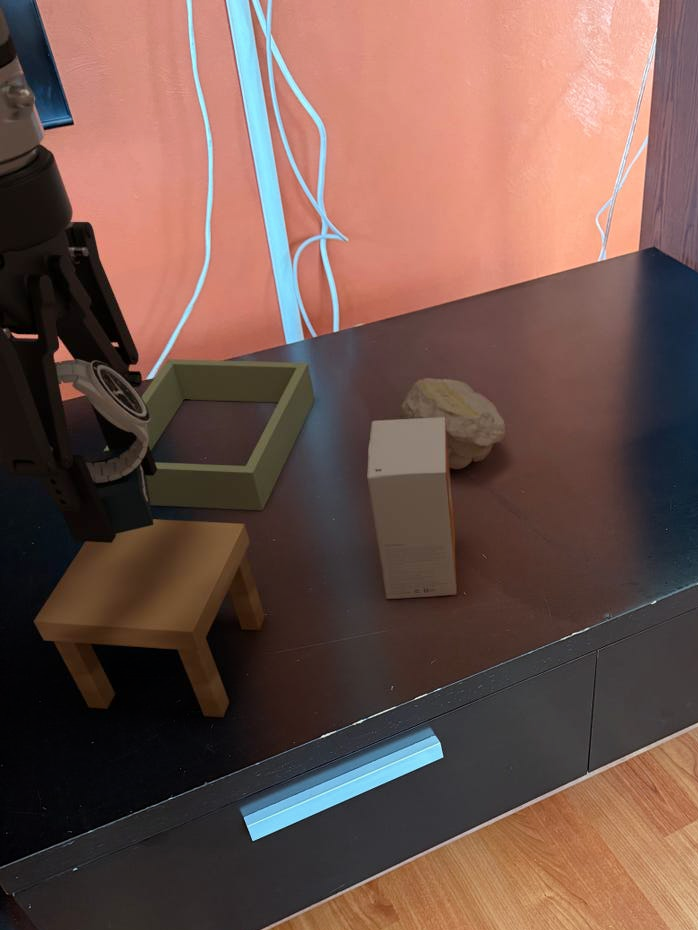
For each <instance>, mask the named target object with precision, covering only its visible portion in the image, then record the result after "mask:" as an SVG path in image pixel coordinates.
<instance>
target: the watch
mask: <svg viewBox="0 0 698 930" xmlns="http://www.w3.org/2000/svg"><path fill="white" fill-rule="evenodd" d="M55 366H56V371H57V376H58V381H59V385H61V384H70V383H72V385H71V386H72V387H73V389H75V390H76V391H78V392H80V393H81V394H83V395H84V396H85V397H86V398H87V400H88V402H89V403H90V405H91V404H92V405H93V406H94V407H95V409H96V410H97V411H98V412H99V413H100V414H101V415H102V416H103V417H105V418H106V419H107V420H108V421H109V422H111V423H112V424H114V425H115V426H117V427H118V428H120V429H123V430H125V431H127V432H133V433H134V434H135V435H136V436H137V441H135V442H134V443H133V445H130V446H125V447H120V448H116V449H111V450H107V451H104V450H103V451H99V452H94V453H89V454H84V455H83V457H84V460H85V462H86V465H87V467H88V469H89V472H90V474H91V477H92V479H93V481H94V484H95V486H96V488H97V491H98V493H99V496H100V498H101V500H102V503H103V505H104V508H105V510H106V512H107V515H108V517H109V520H110V522H111V524H112V527H113V529H114V532H115V534H117V533H122V532H126V531H130V530H134V529H138V528H143V527H147V526H151V525H154V524H153V519H154V518H153V517H154V516H153V511H152V505H151V504H150V497H149V490H148V483H147V479H146V476H145V474H144V471H143V468H142V466H141V461H142V459H143V458H144V456H145V454H146V451H147V447H148V443H149V436H148V430H147V423H148V422H149V421H150V413H149V410H148V408H147V406H146V404H145V402H144V401H143V399H142V398H141V397H142V395H140V393H139V392H138V391H137V389H135V387H132V385H131V384H130V383H129V382H128V381H127V380H126V379H125V378H124V377H123V376H121V375H120V374H119V373H118V372H117V371H115V370H114V369H113V368H111V367H110V366H108V365H106V364H105V363H103V362H100V361H96V360H95V361H92V362H91V363H89V362H86V361H83V360H79V359H75V360H74V359H68V360H62V361H55ZM92 405H91V406H92ZM50 447H51V446H50ZM51 448H52V447H51Z"/></svg>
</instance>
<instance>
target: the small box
mask: <svg viewBox="0 0 698 930" xmlns="http://www.w3.org/2000/svg"><path fill="white" fill-rule="evenodd" d="M369 434H370V435H369V441H368V442H369V443H368V448H367V449H368V451H367V453H368V454H367V473H366V479H367V480H366V481H367V485H368V493H369V499H370V505H371V511H372V517H373V518H372V519H373V523H374V524H373V525H374V530H375V536H376V541H377V548H378V554H379V560H380V567H381V573H382V575H381V576H382V580H383V581H382V582H383V589H384V595H385V598H386V599H388V600H392V599H393V600H394V599H410V598H411V599H412V598H426V597H440V596H441V597H442V596H456V595H457V594H458V587H457V571H456V532H455V522H454V521H455V519H454V507H453V499H452V498H453V497H452V484H451V483H452V482H451V473H450V472H451V471H450V468H449V457H448V445H447V428H446V418H445V417H439V418H419V419H402V418H400V419H384V420H383V419H380V420H372V422H371V426H370V433H369Z"/></svg>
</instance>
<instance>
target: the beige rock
mask: <svg viewBox="0 0 698 930" xmlns="http://www.w3.org/2000/svg"><path fill="white" fill-rule="evenodd" d="M400 407H401V408H400V419H419V418H439V417H445V418H446V428H447V445H448V457H449V469H452V470H462V469H464V468H466V467H468V465H469V464H470V463H472V461H473V462H475V463H476V462H479V461H483V460H484V458H486V457H487V456H488V455H489V454H490V452H491V451H492V447H493V445H494V444H498V443H501V442H503V440H504V438H505V436H506V424H505V420H504V418H503V417H502V416H501V414H499V411H498V409H497V406H495V404H494V403H493V402H491V401H490V399H488V398H486V397H485V396H483V394H481V393H479V392H475V391H474V389H472V388H471V386H470V385H468V384H467V383H465V382H463V381H459V380H457V379H449V378H441V379H439V378H438V379H437V378H432V377H425V378H424V379H419V380H417V381H416V382H415V383H413V385H412V387H411V388H410V389H409V391H408V392H407V394H406V396H405V400H404V401H403V402H402V404H401V406H400Z"/></svg>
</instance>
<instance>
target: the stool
mask: <svg viewBox="0 0 698 930" xmlns="http://www.w3.org/2000/svg"><path fill="white" fill-rule="evenodd" d="M153 524H154V525H151V526H147V527H143V528H138V529H134V530H130V531H126V532H122V533H117V534H116V537H115V539H114V540H113V542H112V543H105V542H86V541H84V543H83V545H82V546H81V548H80V549H79V551H78V553H77V554H76V556H74V558H73V560H72V561H71V563H70V565H69V566H68V567H67V569H66V571H65V572H64V574H63V575H62V577H61V579H60V580H59V582H58V583H57V584H56V586H55V587H54V589H53V591H52V592H51V594H50V595H49V597H48V598H47V599H46V602H45V603H44V605H42V607H41V609H40V610H39V612H38V614H37V615H36V617H35V618H34V620H33V623H34V625H35V627H36V629H37V631H38V632H39V634H40V636H41V638H42V640H43V641H45V642H46V641H47V642H53V643H54V645H55V647H56V649H57V651H58V653H59V654H60V656H61V658H62V660H63V662H64V664H65V666H66V667H67V669H68V671H69V673H70V675H71V677H72V679H73V680H74V682H75V684H76V687H77V688H78V690H79V692H80V693H81V696H82V697H83V699H84V701H85V703H86V705H87V707H88V708H91V709H105V710H107V709H108V708H109V707H110V705H111V702H112V701H113V699H114V697H115V695H116V692H115V690H114V688H113V686H112V684H111V682H110V680H109V678H108V676H107V674H106V672H105V670H104V668H103V666H102V664H101V662H100V660H99V658H98V656H97V654H96V651H95V650H94V648H93V646H92V645H106V646H121V647H136V648H149V649H166V650H177V653H178V655H179V656H180V659H181V662H182V665H183V667H184V670H185V672H186V675H187V677H188V679H189V682H190V683H191V684H190V685H191V688H192V690H193V692H194V694H195V697H196V699H197V702H198V704H199V707H200V710H201V711H202V714H203V716H204V717H210V718H211V717H212V718H213V717H214V718H224V717H225V715H226V712H227V709H228V707H229V705H230V701H229V697H228V695H227V692H226V689H225V686H224V684H223V681H222V678H221V675H220V673H219V670H218V668H217V667H218V666H217V665H216V661H215V660H214V657H213V654H212V651H211V649H210V646H209V643H208V640H207V636H208V634H209V631H210V630H211V627H212V626H213V623H214V622H215V619H216V617H217V614H218V613H219V611H220V608H221V606H222V604H223V602H224V599H225V597H226V595H227V593H228V591H229V594H230V598H231V601H232V603H233V606H234V609H235V613H236V615H237V619H238V622H239V624H240V628H241V630H247V631H248V630H249V631H260V630H261V629H262V626H263V623H264V621H265V618H266V616H265V612H264V609H263V606H262V603H261V599H260V596H259V592H258V588H257V586H256V583H255V579H254V576H253V572H252V569H251V566H250V562H249V559H248V555H247V550H248V548H249V546H250V543H251V541H250V538H249V535H248V531H247V527H246V525H245V523H236V522H234V523H233V522H217V521H198V520H197V521H195V520H173V519H154V518H153Z"/></svg>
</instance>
